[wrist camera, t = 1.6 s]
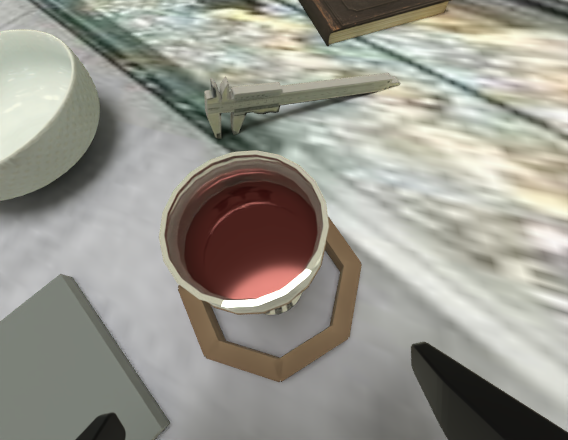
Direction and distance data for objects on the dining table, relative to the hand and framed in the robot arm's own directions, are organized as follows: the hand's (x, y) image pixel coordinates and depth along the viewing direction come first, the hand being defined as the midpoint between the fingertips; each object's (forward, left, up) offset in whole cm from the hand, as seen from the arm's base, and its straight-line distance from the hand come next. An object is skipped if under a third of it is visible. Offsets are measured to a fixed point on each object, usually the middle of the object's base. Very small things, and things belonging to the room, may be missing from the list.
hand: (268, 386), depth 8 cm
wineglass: (+5, -2, -12) cm, 14 cm away
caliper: (+19, -14, -13) cm, 27 cm away
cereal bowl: (+29, +12, -12) cm, 34 cm away
